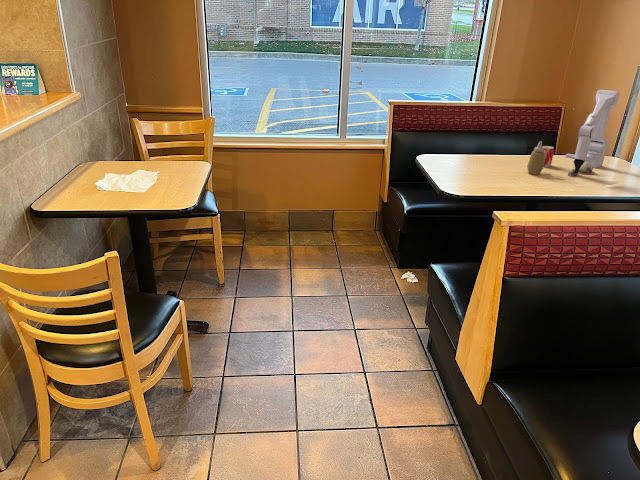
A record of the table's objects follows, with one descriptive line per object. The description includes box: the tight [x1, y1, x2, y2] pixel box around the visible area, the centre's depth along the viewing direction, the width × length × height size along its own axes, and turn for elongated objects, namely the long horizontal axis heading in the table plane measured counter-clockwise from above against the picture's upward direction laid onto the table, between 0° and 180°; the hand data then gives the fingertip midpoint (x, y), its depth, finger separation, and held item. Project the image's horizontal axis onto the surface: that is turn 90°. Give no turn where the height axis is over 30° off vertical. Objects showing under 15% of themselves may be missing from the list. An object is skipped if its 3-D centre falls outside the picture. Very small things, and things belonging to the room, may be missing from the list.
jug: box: [579, 161, 593, 172], centre depth 257 cm, size 6×4×6 cm
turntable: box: [567, 167, 596, 177], centre depth 257 cm, size 20×12×4 cm, turn 124°
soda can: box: [542, 145, 555, 168], centre depth 267 cm, size 7×7×12 cm
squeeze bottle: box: [526, 140, 545, 176], centre depth 255 cm, size 8×8×18 cm
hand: (576, 173), depth 253 cm, fingers closed, pressing on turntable
